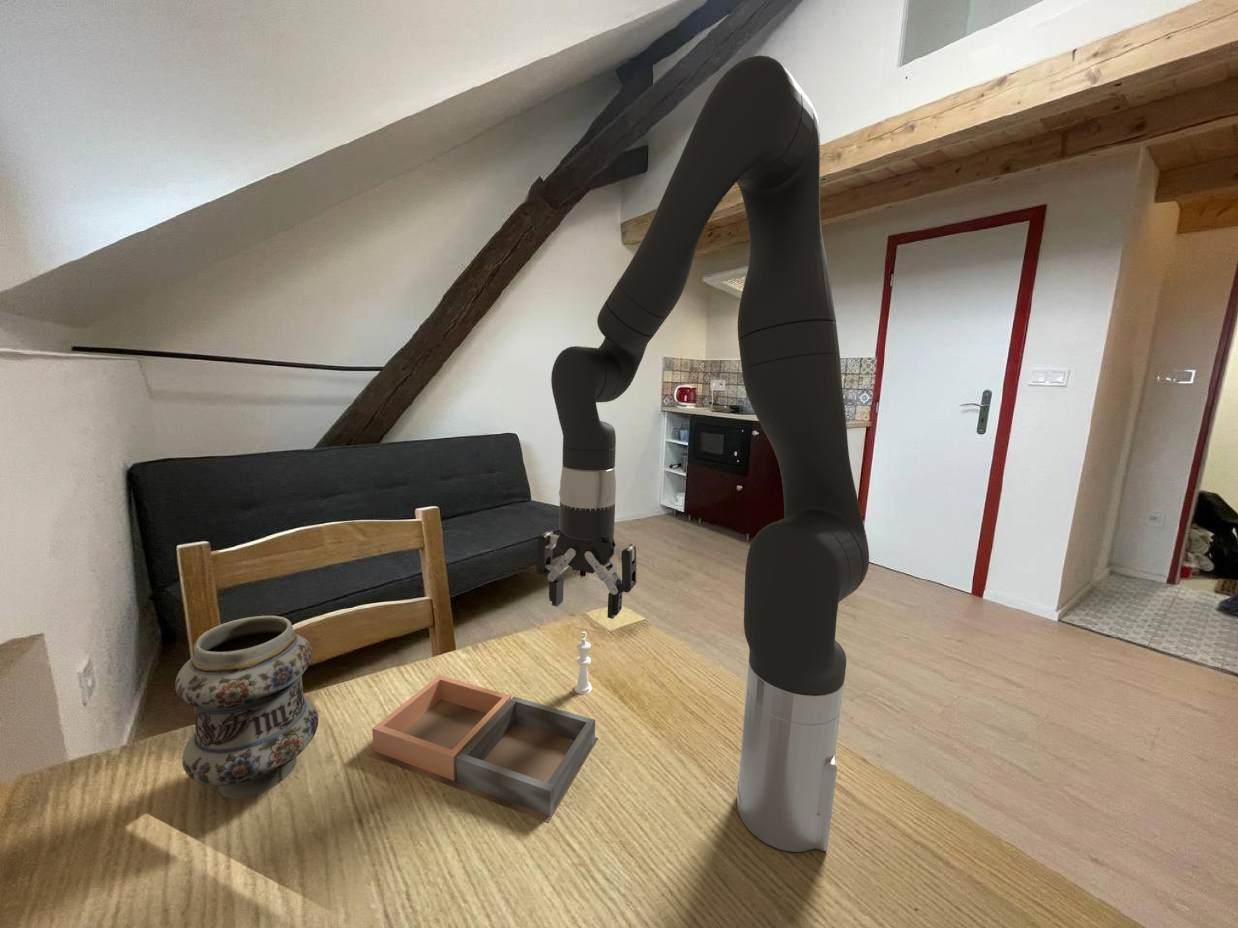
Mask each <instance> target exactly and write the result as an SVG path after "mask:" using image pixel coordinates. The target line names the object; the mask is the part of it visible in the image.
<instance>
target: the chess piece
mask: <svg viewBox="0 0 1238 928" xmlns="http://www.w3.org/2000/svg"><path fill="white" fill-rule="evenodd" d="M587 634H588V633H587V631H582V636H581V641H580V642H578V643H577V644H576V648H577V651H578V653H579V655H578V656H577V658H576V660H575V662H576V663H577V664H578V665H579V672H578V678H577V682H576V683H575V684H574V688H573V689H574V692H576V693H577V694H581V695H587V694H588V693H590V692H591V691H592V689H593V687H592V684H591V682H590V681H589V674H588V665H590V664H591V662H592V658H591V657H590V656H589V652H590V651H591V647H592V645H591V643H590V642H588V641H586V640H587Z"/></svg>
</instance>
